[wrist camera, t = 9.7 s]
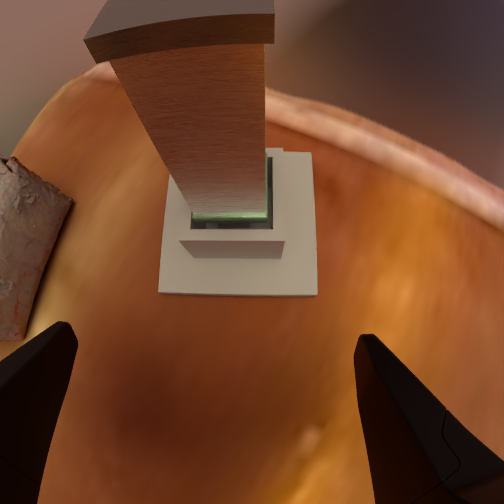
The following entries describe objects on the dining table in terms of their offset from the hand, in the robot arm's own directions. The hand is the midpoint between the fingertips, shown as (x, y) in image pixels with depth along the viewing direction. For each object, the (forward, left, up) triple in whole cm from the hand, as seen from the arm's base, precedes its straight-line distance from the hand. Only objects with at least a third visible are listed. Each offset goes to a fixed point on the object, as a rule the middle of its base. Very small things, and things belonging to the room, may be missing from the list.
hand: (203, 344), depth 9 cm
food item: (-5, +18, -12) cm, 22 cm away
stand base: (+7, +4, -11) cm, 14 cm away
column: (+7, +4, -7) cm, 10 cm away
